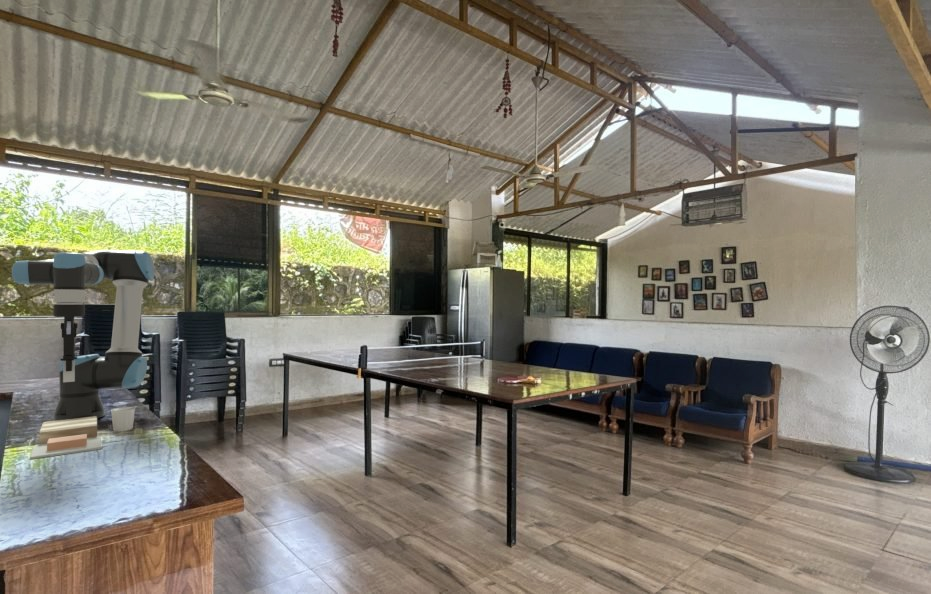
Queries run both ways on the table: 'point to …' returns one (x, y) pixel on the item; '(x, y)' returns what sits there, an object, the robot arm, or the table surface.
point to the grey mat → (41, 449)
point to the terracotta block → (66, 442)
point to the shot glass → (122, 418)
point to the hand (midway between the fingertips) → (68, 381)
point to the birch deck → (68, 428)
